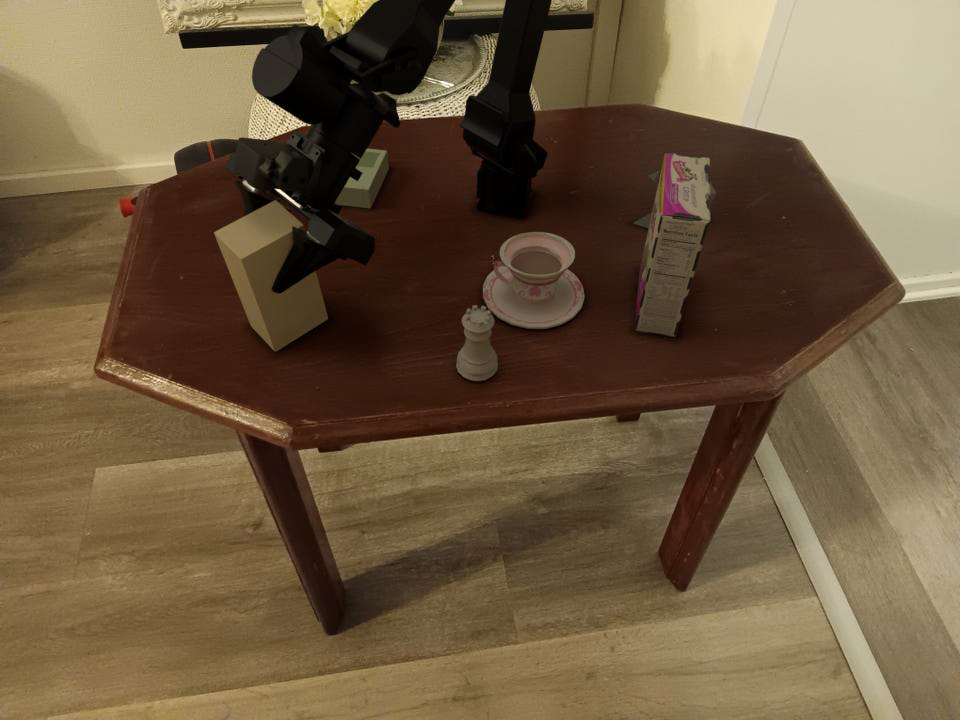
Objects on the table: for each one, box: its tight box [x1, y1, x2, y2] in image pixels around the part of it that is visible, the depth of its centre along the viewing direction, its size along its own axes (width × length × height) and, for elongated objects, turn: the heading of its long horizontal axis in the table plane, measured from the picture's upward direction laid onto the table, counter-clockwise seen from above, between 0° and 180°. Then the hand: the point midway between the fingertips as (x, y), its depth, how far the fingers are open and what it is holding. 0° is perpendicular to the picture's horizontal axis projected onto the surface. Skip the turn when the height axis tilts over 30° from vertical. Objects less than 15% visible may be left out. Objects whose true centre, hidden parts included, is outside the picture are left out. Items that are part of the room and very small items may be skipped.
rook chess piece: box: [455, 304, 499, 382], centre depth 74 cm, size 4×4×8 cm
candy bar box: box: [634, 152, 711, 338], centre depth 78 cm, size 11×5×16 cm, turn 168°
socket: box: [292, 148, 390, 210], centre depth 98 cm, size 12×10×3 cm
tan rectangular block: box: [213, 200, 329, 352], centre depth 75 cm, size 7×5×14 cm
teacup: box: [482, 231, 586, 330], centre depth 82 cm, size 12×12×6 cm
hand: (257, 275), depth 74 cm, fingers closed on tan rectangular block, 6 cm apart
